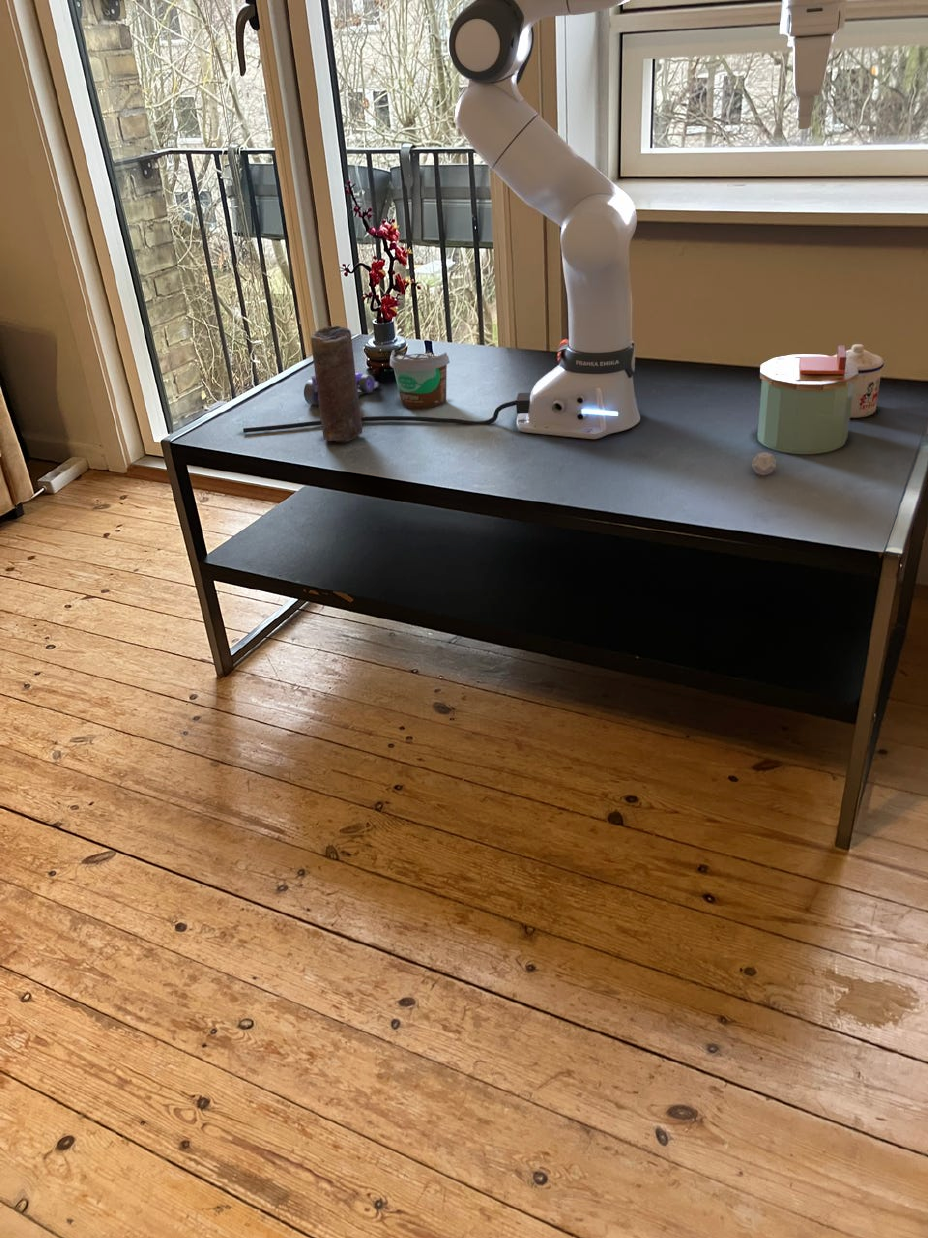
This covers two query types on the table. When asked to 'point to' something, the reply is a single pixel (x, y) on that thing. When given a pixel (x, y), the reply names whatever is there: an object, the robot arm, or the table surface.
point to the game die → (764, 463)
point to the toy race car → (365, 386)
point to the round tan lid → (788, 375)
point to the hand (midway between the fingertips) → (803, 124)
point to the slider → (824, 364)
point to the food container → (420, 379)
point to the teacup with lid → (864, 380)
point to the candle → (336, 383)
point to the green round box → (804, 418)
